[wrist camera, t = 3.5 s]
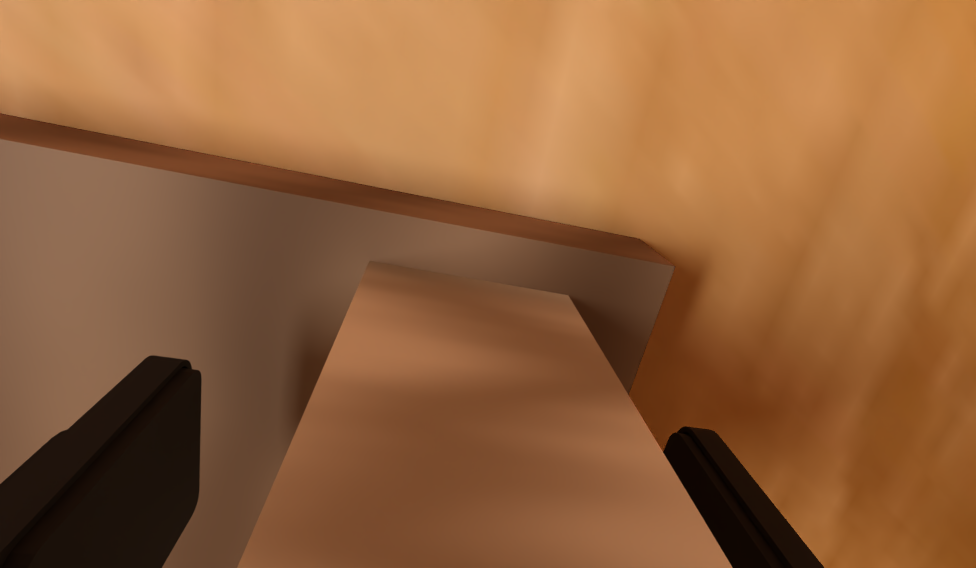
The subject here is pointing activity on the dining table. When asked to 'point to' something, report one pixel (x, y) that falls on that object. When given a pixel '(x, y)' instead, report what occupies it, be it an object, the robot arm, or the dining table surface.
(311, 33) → the dining table surface
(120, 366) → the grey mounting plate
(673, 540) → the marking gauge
